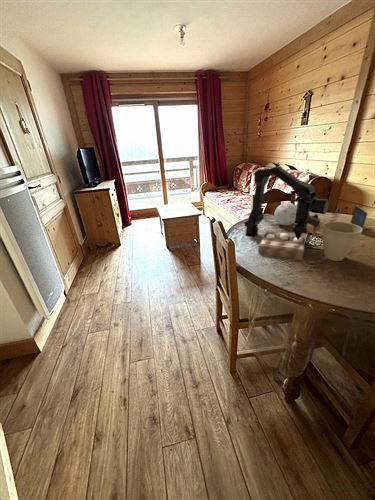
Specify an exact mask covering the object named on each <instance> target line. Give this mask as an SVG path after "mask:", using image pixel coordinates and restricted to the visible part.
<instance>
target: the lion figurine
mask: <svg viewBox="0 0 375 500" xmlns="http://www.w3.org/2000/svg"><path fill="white" fill-rule="evenodd" d="M324 223H325V222H324V221H323V220H321V222H320V223H319V225H318V226H317V227H314V226H313V225H310V224H307V229H309V231H310V230H311V231H312V233H311V235H313V236H312V237H314V235H317V232H319V231H320V230H323V224H324ZM304 225H305V224H304Z"/></svg>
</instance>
